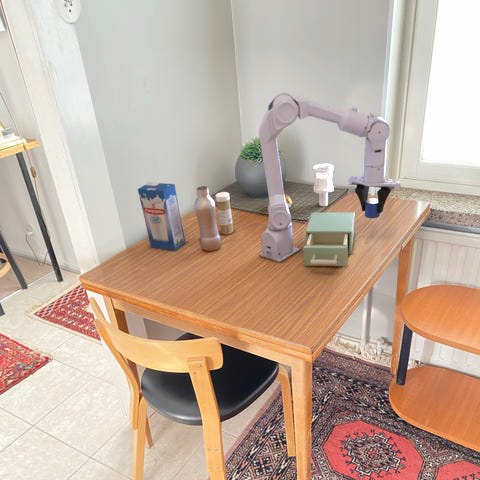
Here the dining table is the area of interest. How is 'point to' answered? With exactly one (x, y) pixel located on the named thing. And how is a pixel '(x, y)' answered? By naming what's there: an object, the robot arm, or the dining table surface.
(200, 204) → the plastic bottle
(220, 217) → the sprinkles bottle
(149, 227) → the milk carton
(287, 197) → the pastry
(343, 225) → the cabinet
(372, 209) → the can
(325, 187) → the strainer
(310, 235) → the drawer
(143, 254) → the dining table surface
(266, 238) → the robot arm
